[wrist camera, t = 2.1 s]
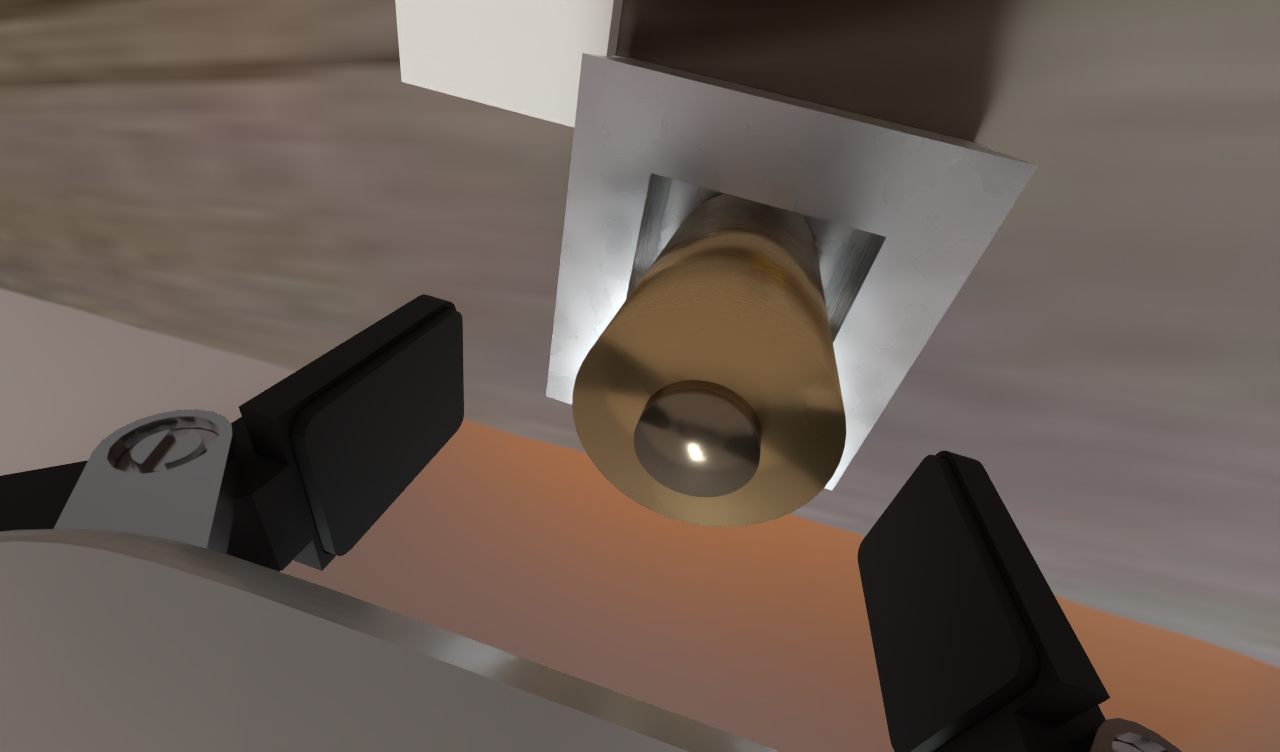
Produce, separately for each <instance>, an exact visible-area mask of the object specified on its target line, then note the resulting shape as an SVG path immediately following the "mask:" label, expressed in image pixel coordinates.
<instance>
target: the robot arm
mask: <svg viewBox="0 0 1280 752" xmlns="http://www.w3.org/2000/svg"><path fill="white" fill-rule="evenodd" d="M239 409H240V412H241V414H242V417H241V418H239V419H237V420H236V421H234V422H233V423H230V422H229V421H228V420H227V419H226V418H225V417H224V416H221V415H219V414H217V413H215V412H211V411H204V410H176V411H170V412H164V413H159V414H155V415H152V416H149V417H145V418H142V419H139V420H136V421H134V422H132V423H130V424H128V425H126V426H124V427H122V428H120V429H117V430H116V431H115V432H113V433H112V434H110V435H109V436H108V437H106V438H105V439H103V440H102V441H101V442H100V444H99V445H98V446H97V447H96V449H95V450H94V451H93V452H92V454H91V456H90V458H89V460H88V461H83V462H77V463H72V464H66V465H60V466H54V467H48V468H43V469H38V470H32V471H26V472H20V473H15V474H9V475H3V476H0V752H779V751H776V750H774V749H771V748H768V747H765V746H763V745H760V744H757V743H754V742H752V741H749V740H747V739H744V738H741V737H739V736H735V735H733V734H730V733H728V732H725V731H722V730H720V729H717V728H714V727H711V726H709V725H706V724H703V723H700V722H698V721H695V720H692V719H689V718H687V717H684V716H681V715H678V714H676V713H673V712H670V711H667V710H665V709H662V708H659V707H657V706H653V705H651V704H648V703H646V702H643V701H640V700H637V699H635V698H632V697H629V696H626V695H624V694H621V693H618V692H615V691H613V690H610V689H607V688H604V687H602V686H599V685H596V684H593V683H591V682H588V681H585V680H582V679H580V678H577V677H574V676H571V675H568V674H566V673H562V672H560V671H557V670H555V669H552V668H549V667H546V666H544V665H541V664H538V663H535V662H533V661H530V660H527V659H524V658H522V657H519V656H516V655H513V654H511V653H508V652H505V651H502V650H499V649H497V648H494V647H491V646H488V645H486V644H483V643H480V642H477V641H474V640H472V639H469V638H466V637H463V636H460V635H458V634H455V633H452V632H449V631H447V630H443V629H441V628H438V627H435V626H432V625H430V624H427V623H424V622H421V621H419V620H416V619H413V618H410V617H407V616H404V615H402V614H399V613H396V612H393V611H390V610H388V609H385V608H382V607H379V606H376V605H374V604H371V603H368V602H365V601H363V600H360V599H357V598H354V597H351V596H349V595H346V594H343V593H340V592H337V591H335V590H332V589H329V588H326V587H323V586H320V585H317V584H314V583H311V582H308V581H305V580H302V579H299V578H296V577H293V576H290V575H287V574H284V573H282V570H283V569H284V568H285V567H286V566H287V565H288V564H289V563H290V562H291V561H292V560H293V559H294V561H297V562H299V563H302V564H305V565H308V566H310V567H313V568H316V569H319V570H321V571H322V570H323V569H324V568H325V567H326V566H327V565H328V564H329V563H330V562H331V560H333V558H334V557H335V556H336V555H338V556H342V555H344V554H346V553H347V552H348V551H349V550H350V549H351V548H353V546H354V545H355V544H356V543H357V542H358V541H359V540H360V539H361V537H362V536H363V535H364V534H365V533H366V532H367V531H368V530H369V529H370V527H371V526H372V525H373V524H374V523H375V522H376V521H377V520H378V519H379V517H380V516H381V515H382V514H383V513H384V512H385V511H386V510H387V509H388V507H389V506H390V505H391V504H392V503H393V502H394V501H395V500H396V498H397V497H398V496H399V495H400V494H401V493H402V492H403V491H404V490H405V488H406V487H407V486H408V485H409V484H410V483H411V482H412V481H413V479H414V478H415V477H416V476H417V475H418V474H419V473H420V472H421V470H422V469H423V468H424V467H425V466H426V465H427V464H428V463H429V462H430V460H431V459H432V458H433V457H434V456H435V455H436V454H437V453H438V451H439V450H440V449H441V448H442V447H443V446H444V445H445V444H446V443H447V442H448V440H449V439H450V438H451V437H452V436H453V435H454V434H455V433H456V431H457V430H458V429H459V427H460V425H461V423H462V421H463V417H464V389H463V325H462V315H461V313H459V312H457V311H456V308H455V306H454V304H453V303H452V302H449V301H445V300H442V299H439V298H435V297H432V296H429V295H421V296H419V297H417V298H415V299H414V300H412V301H410V302H409V303H407V304H405V305H404V306H402V307H401V308H399V309H397V310H396V311H394V312H392V313H391V314H389V315H388V316H386V317H384V318H383V319H381V320H379V321H378V322H376V323H375V324H373V325H371V326H370V327H368V328H366V329H365V330H363V331H361V332H360V333H358V334H357V335H355V336H353V337H352V338H350V339H348V340H347V341H345V342H344V343H342V344H340V345H339V346H337V347H335V348H334V349H332V350H331V351H329V352H327V353H326V354H324V355H322V356H321V357H319V358H317V359H316V360H314V361H313V362H311V363H309V364H308V365H306V366H304V367H303V368H301V369H300V370H298V371H296V372H295V373H293V374H291V375H290V376H288V377H287V378H285V379H283V380H282V381H280V382H278V383H277V384H275V385H273V386H272V387H270V388H269V389H267V390H265V391H264V392H262V393H261V394H259V395H257V396H256V397H254V398H252V399H251V400H249V401H247V402H246V403H244V404H243V405H241V406H239ZM858 564H859V569H860V575H861V581H862V586H863V592H864V597H865V603H866V608H867V614H868V619H869V625H870V630H871V636H872V642H873V647H874V653H875V658H876V664H877V669H878V675H879V680H880V686H881V691H882V697H883V702H884V708H885V713H886V719H887V724H888V730H889V736H890V740H891V744H892V747H893V749H894V751H895V752H1181V751H1180V750H1179V749H1178V748H1177V747H1175V746H1174V745H1172V744H1171V743H1170V742H1168V741H1167V740H1165V739H1164V738H1163V737H1161V736H1160V735H1159V734H1157V733H1155V732H1153V731H1152V730H1150V729H1147V728H1146V727H1144V726H1142V725H1140V724H1138V723H1136V722H1132V721H1128V720H1124V719H1121V718H1115V719H1109V720H1106V719H1105V717H1104V716H1103V714H1102V712H1101V710H1100V708H1099V706H1098V704H1100V703H1102V702H1104V701H1106V700H1107V699H1109V698H1110V696H1109V695H1108V693H1107V691H1106V689H1105V688H1104V686H1103V684H1102V682H1101V680H1100V678H1099V677H1098V675H1097V673H1096V671H1095V669H1094V668H1093V666H1092V664H1091V662H1090V660H1089V658H1088V656H1087V655H1086V653H1085V651H1084V649H1083V647H1082V646H1081V644H1080V642H1079V640H1078V639H1077V636H1076V635H1075V633H1074V631H1073V629H1072V628H1071V625H1070V624H1069V622H1068V620H1067V618H1066V616H1065V615H1064V613H1063V611H1062V609H1061V607H1060V605H1059V604H1058V602H1057V600H1056V598H1055V596H1054V594H1053V593H1052V591H1051V589H1050V587H1049V585H1048V584H1047V582H1046V580H1045V578H1044V576H1043V574H1042V573H1041V571H1040V569H1039V567H1038V565H1037V563H1036V562H1035V560H1034V558H1033V556H1032V554H1031V553H1030V551H1029V549H1028V547H1027V545H1026V543H1025V542H1024V540H1023V538H1022V536H1021V534H1020V533H1019V531H1018V529H1017V527H1016V525H1015V523H1014V522H1013V520H1012V518H1011V516H1010V514H1009V512H1008V511H1007V509H1006V507H1005V505H1004V503H1003V502H1002V500H1001V498H1000V496H999V494H998V492H997V491H996V489H995V487H994V485H993V483H992V482H991V480H990V478H989V476H988V474H987V472H986V471H985V469H984V467H983V465H982V464H981V463H980V462H979V461H977V460H975V459H971V458H968V457H965V456H961V455H958V454H955V453H951V452H948V451H941V452H939V453H937V454H936V455H935V456H934V455H928V456H927V457H925V458H924V459H923V461H922V462H921V463H920V465H919V466H918V467H917V469H916V470H915V471H914V473H913V474H912V475H911V477H910V478H909V479H908V481H907V482H906V483H905V485H904V486H903V487H902V489H901V490H900V491H899V493H898V494H897V495H896V497H895V498H894V499H893V501H892V502H891V503H890V505H889V506H888V507H887V509H886V510H885V511H884V513H883V514H882V515H881V517H880V518H879V519H878V521H877V522H876V523H875V525H874V526H873V527H872V529H871V530H870V531H869V533H868V534H867V535H866V537H865V538H864V539H863V541H862V542H861V544H860V547H859V551H858Z"/></svg>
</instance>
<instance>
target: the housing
mask: <svg viewBox="0 0 1280 752" xmlns="http://www.w3.org/2000/svg"><path fill="white" fill-rule="evenodd" d="M1037 167H1038V166H1037V165H1034V164H1031V163H1029V162H1026V161H1023V160H1020V159H1017V158H1014V157H1011V156H1008V155H1006V154H1003V153H1000V152H997V151H996V149H993V148H990V147H987V146H984V145H981V144H978V143H975V142H972V141H968V140H964V139H960V138H956V137H951V136H947V135H943V134H939V133H935V132H931V131H927V130H923V129H919V128H915V127H911V126H907V125H903V124H899V123H895V122H890V121H886V120H882V119H878V118H874V117H870V116H866V115H862V114H858V113H854V112H850V111H846V110H842V109H838V108H833V107H829V106H825V105H821V104H817V103H813V102H809V101H805V100H801V99H797V98H793V97H789V96H785V95H781V94H777V93H772V92H768V91H764V90H760V89H756V88H752V87H748V86H744V85H740V84H736V83H732V82H728V81H724V80H720V79H716V78H711V77H707V76H703V75H699V74H695V73H691V72H687V71H683V70H679V69H675V68H671V67H667V66H663V65H659V64H655V63H650V62H646V61H642V60H638V59H634V58H630V57H624V56H616V55H612V57H610V56H602V55H594V54H586V53H582V61H581V71H580V80H579V89H578V99H577V108H576V118H575V127H574V137H573V146H572V156H571V165H570V175H569V184H568V194H567V203H566V213H565V222H564V232H563V241H562V250H561V260H560V269H559V279H558V288H557V298H556V307H555V317H554V326H553V336H552V345H551V355H550V364H549V374H548V383H547V393H546V396H547V397H550V398H553V399H556V400H559V401H562V402H565V403H568V404H571V405H572V399H573V388H574V384H575V379H576V376H577V373H578V371H579V368H580V366H581V363H582V362H583V360H584V359H585V357H586V355H587V354H588V352H589V351H590V349H591V348H592V346H593V345H594V344H595V342H596V341H597V340H598V338H599V337H600V335H601V334H602V333H603V331H604V330H605V329H606V327H607V326H608V324H609V323H610V322H611V320H612V319H613V317H614V316H615V315H616V313H617V312H618V311H619V309H620V308H621V306H622V305H623V304H624V302H625V301H626V300H627V298H628V297H629V295H630V294H631V293H632V291H633V290H634V288H635V287H636V286H637V284H638V283H639V282H640V280H641V279H642V277H643V276H644V275H645V273H646V272H647V270H648V269H649V268H650V266H651V265H652V264H653V262H654V261H655V259H656V258H657V257H658V255H659V254H660V253H661V251H662V250H663V248H664V247H665V246H666V244H667V243H668V241H669V240H670V239H671V237H672V236H673V235H674V233H675V232H676V230H677V229H678V228H679V226H680V225H681V224H682V222H683V221H684V220H685V219H686V217H687V216H688V215H689V214H690V213H691V212H692V211H693V210H694V209H695V208H697V207H698V206H700V205H701V204H702V203H704V202H706V201H707V200H709V199H711V198H713V197H716V196H719V195H721V194H725V193H726V194H730V195H734V196H737V197H741V198H745V199H748V200H752V201H756V202H759V203H763V204H767V205H771V206H774V207H778V208H782V209H785V210H789V211H793V212H796V213H799V214H800V216H801V217H802V218H803V219H804V221H805V222H806V224H807V225H808V227H809V229H810V231H811V233H812V236H813V238H814V241H815V246H816V250H817V256H818V261H819V267H820V273H821V279H822V284H823V290H824V296H825V302H826V307H827V313H828V319H829V324H830V330H831V336H832V342H833V347H834V353H835V359H836V365H837V370H838V376H839V382H840V387H841V393H842V399H843V405H844V410H845V416H846V441H845V448H844V451H843V455H842V458H841V461H840V463H839V465H838V467H837V469H836V471H835V473H834V475H833V477H832V478H831V479H830V481H829V482H828V483H827V485H826V486H825V487H824V488H826V489H829V490H833V488H834V487H835V485H836V484H837V482H838V481H839V479H840V477H841V476H842V474H843V473H844V471H845V469H846V468H847V466H848V465H849V463H850V462H851V460H852V458H853V457H854V455H855V454H856V452H857V451H858V449H859V447H860V446H861V444H862V443H863V441H864V440H865V438H866V436H867V435H868V433H869V432H870V430H871V429H872V427H873V425H874V424H875V422H876V421H877V419H878V418H879V416H880V414H881V413H882V411H883V410H884V408H885V407H886V405H887V403H888V402H889V400H890V399H891V397H892V396H893V394H894V392H895V391H896V389H897V388H898V386H899V385H900V383H901V381H902V380H903V378H904V377H905V375H906V374H907V372H908V370H909V369H910V367H911V366H912V364H913V363H914V361H915V359H916V358H917V356H918V355H919V353H920V352H921V350H922V348H923V347H924V345H925V344H926V342H927V341H928V339H929V337H930V336H931V334H932V333H933V331H934V329H935V328H936V326H937V325H938V323H939V322H940V320H941V318H942V317H943V315H944V314H945V312H946V311H947V309H948V307H949V306H950V304H951V303H952V301H953V300H954V298H955V296H956V295H957V293H958V292H959V290H960V289H961V287H962V285H963V284H964V282H965V281H966V279H967V278H968V276H969V274H970V273H971V271H972V270H973V268H974V267H975V265H976V263H977V262H978V260H979V259H980V257H981V256H982V254H983V252H984V251H985V249H986V248H987V246H988V245H989V243H990V241H991V240H992V238H993V237H994V235H995V234H996V232H997V230H998V229H999V227H1000V226H1001V224H1002V223H1003V221H1004V219H1005V218H1006V216H1007V215H1008V213H1009V212H1010V210H1011V208H1012V207H1013V205H1014V204H1015V202H1016V201H1017V199H1018V197H1019V196H1020V194H1021V193H1022V191H1023V189H1024V188H1025V186H1026V185H1027V183H1028V182H1029V180H1030V178H1031V177H1032V175H1033V174H1034V172H1035V171H1036V169H1037Z"/></svg>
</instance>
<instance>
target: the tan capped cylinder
mask: <svg viewBox="0 0 1280 752" xmlns="http://www.w3.org/2000/svg"><path fill="white" fill-rule="evenodd" d="M572 407H573V418H574V422H575V426H576V430H577V433H578V436H579V438H580V441H581V443H582V445H583V447H584V449H585V451H586V453H587V455H588V456H589V458H590V459H591V460H592V462H593V463H594V465H595V466H596V467H597V469H598V470H599V471H600V472H601V473H602V474H603V475H604V477H605V478H606V479H607V480H608V481H610V482H611V483H612V484H613V485H614V486H615V487H616V488H617V489H619V490H620V491H621V492H623V493H624V494H625V495H626V496H628V497H629V498H631V499H632V500H634V501H636V502H637V503H639V504H640V505H642V506H644V507H646V508H648V509H650V510H652V511H654V512H657V513H659V514H662V515H664V516H667V517H670V518H673V519H676V520H680V521H683V522H688V523H693V524H697V525H705V526H714V527H736V526H748V525H754V524H759V523H763V522H767V521H770V520H774V519H777V518H779V517H782V516H784V515H787V514H789V513H791V512H793V511H795V510H796V509H798V508H800V507H802V506H803V505H805V504H806V503H807V502H809V501H810V500H811V499H813V498H814V497H815V496H816V495H817V494H818V493H819V492H820V491H821V490H822V489H823V488H824V487H825V486H826V485H827V483H828V482H829V481H830V479H831V478H832V477H833V475H834V473H835V471H836V469H837V467H838V465H839V463H840V461H841V458H842V455H843V451H844V448H845V441H846V416H845V410H844V405H843V399H842V393H841V387H840V382H839V376H838V370H837V365H836V359H835V353H834V347H833V342H832V336H831V330H830V324H829V319H828V313H827V307H826V302H825V296H824V290H823V284H822V279H821V273H820V267H819V261H818V256H817V250H816V246H815V241H814V238H813V236H812V233H811V231H810V229H809V227H808V225H807V224H806V222H805V221H804V219H803V218H802V217H801V216H800V214H799V213H796V212H793V211H789V210H785V209H782V208H778V207H774V206H771V205H767V204H763V203H759V202H756V201H752V200H748V199H745V198H741V197H737V196H734V195H730V194H726V193H725V194H721V195H719V196H716V197H713V198H711V199H709V200H707V201H706V202H704V203H702V204H701V205H700V206H698V207H697V208H695V209H694V210H693V211H692V212H691V213H690V214H689V215H688V216H687V217H686V219H685V220H684V221H683V222H682V224H681V225H680V226H679V228H678V229H677V230H676V232H675V233H674V235H673V236H672V237H671V239H670V240H669V241H668V243H667V244H666V246H665V247H664V248H663V250H662V251H661V253H660V254H659V255H658V257H657V258H656V259H655V261H654V262H653V264H652V265H651V266H650V268H649V269H648V270H647V272H646V273H645V275H644V276H643V277H642V279H641V280H640V282H639V283H638V284H637V286H636V287H635V288H634V290H633V291H632V293H631V294H630V295H629V297H628V298H627V300H626V301H625V302H624V304H623V305H622V306H621V308H620V309H619V311H618V312H617V313H616V315H615V316H614V317H613V319H612V320H611V322H610V323H609V324H608V326H607V327H606V329H605V330H604V331H603V333H602V334H601V335H600V337H599V338H598V340H597V341H596V342H595V344H594V345H593V346H592V348H591V349H590V351H589V352H588V354H587V355H586V357H585V359H584V360H583V362H582V363H581V366H580V368H579V371H578V373H577V376H576V379H575V384H574V388H573V399H572Z"/></svg>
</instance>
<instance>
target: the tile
mask: <svg viewBox="0 0 1280 752" xmlns="http://www.w3.org/2000/svg"><path fill="white" fill-rule="evenodd" d="M395 2H396V15H397V28H398V41H399V53H400V66H401V79H402V82H405V83H408V84H412V85H416V86H420V87H424V88H427V89H431V90H435V91H439V92H442V93H446V94H450V95H454V96H457V97H461V98H465V99H469V100H473V101H476V102H480V103H484V104H488V105H491V106H495V107H499V108H503V109H506V110H510V111H514V112H518V113H522V114H525V115H529V116H533V117H537V118H540V119H544V120H548V121H552V122H555V123H559V124H563V125H567V126H570V127H575V118H576V108H577V99H578V89H579V80H580V71H581V61H582V53H586V54H594V55H602V56H610V57H612V55H616V48H617V41H618V33H619V26H620V19H621V12H622V5H623V0H395Z"/></svg>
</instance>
